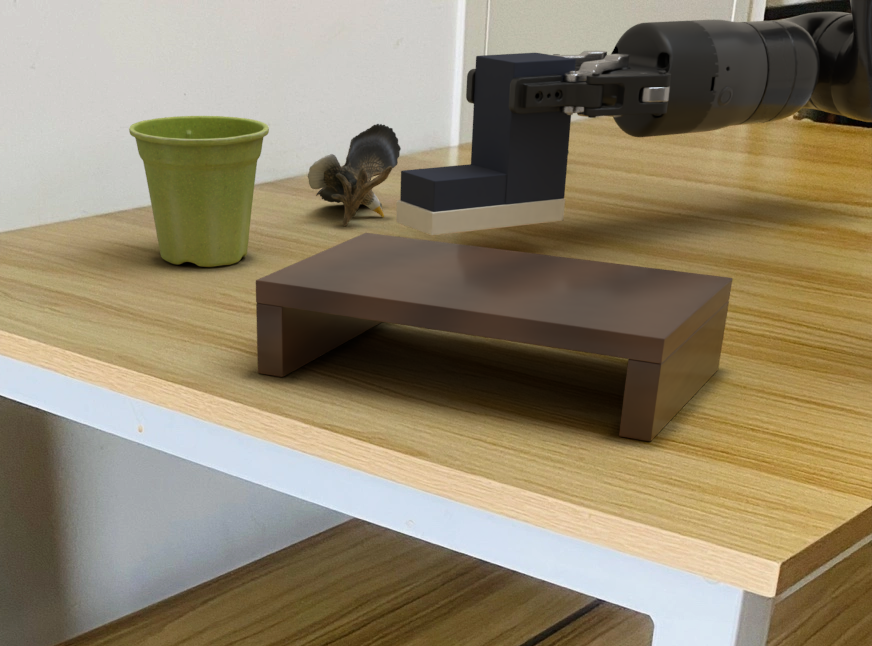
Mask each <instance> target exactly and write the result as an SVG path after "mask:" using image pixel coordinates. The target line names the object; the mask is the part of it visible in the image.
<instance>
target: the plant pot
mask: <svg viewBox="0 0 872 646" xmlns="http://www.w3.org/2000/svg"><path fill="white" fill-rule="evenodd" d="M128 131H129V135H130V136H131V137H133V138H134V139H135V144H136V147H137V152H138V155H139V157H140V159H141V161H142V162H143V167H144V173H145V177H146V183H147V188H148V194H149V200H150V204H151V209H152V213H153V214H152V216H153V221H154V228H155V233H156V238H157V243H158V248H159V253H160V257H161V259H162V260H163V261H166V262H168V263H170V264H173V265H182V264H184V263H192V264H195V265H196V266H198V267H204V268H214V267H217V266H218V267H219V266H230V265H234V264H236V263H238V262H240V261H241V259H242V258H243V257H247V255H248V248H249V240H250V239H249V238H250V229H251V221H252V219H251V218H252V211H253V201H254V194H255V193H254V192H255V185H256V184H255V183H256V174H257V166H258V160H259V158H260V157H261V154H262V151H263V143H264V138H265V137H266V136H267V135H268V134H269V132H270V127H269V125H268V124H267V123H265V122H263V121H261V120H256V119H253V118H252V119H251V118H246V117H238V116H224V115H180V116H179V115H178V116H168V117H167V116H165V117H158V118H157V117H156V118H151V119H145V120H141V121H137V122H134V123H133V124H130V126H129V128H128Z"/></svg>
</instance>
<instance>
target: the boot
mask: <svg viewBox="0 0 872 646" xmlns="http://www.w3.org/2000/svg"><path fill="white" fill-rule="evenodd" d="M575 63H576V59H574V58H567V57H561V56H554V55H553V54H548V53H541V52H519V53H504V54H486V55H485V54H484V55H476V56H475V68H474V69H475V90H474V104H473V111H472V112H473V113H472V130H471V132H472V133H471V135H472V136H471V152H470V154H471V155H470V164H459V165H447V166H435V167H426V168H416V169H414V168H413V169H405V170H400V193H399V194H400V198H399V199H398V200H396V202H395V223H396V224H400V225H402V226H404V227H407V228H410V229H413V230H416V231H417V232H420V233H423V234H427V235H429V236H431V237H432V236H441V235H450V234H457V233H468V232H476V231H486V230H494V229H502V228H511V227H520V226H528V225H529V226H530V225H536V224H537V225H538V224H546V223H555V222H563V221H564V217H565V207H566V206H565V205H566V198H565V195H566V183H567V182H566V181H567V169H568V160H569V159H568V157H569V154H568V151H569V146H570V135H571V133H570V132H571V121H572V115H565V113H561V112H560V110H561V106H560V109H559V111H552V112H539V113H527V114H517V113H513V112H511V111H510V109H509V93H510V83H511V81H512V79H513V78H515V77H525V76H541V75H556V74H557V75H562V81H563V73H567V72H569V71H575Z"/></svg>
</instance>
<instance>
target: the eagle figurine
mask: <svg viewBox="0 0 872 646" xmlns="http://www.w3.org/2000/svg"><path fill="white" fill-rule="evenodd" d="M401 150H402V148H401V146H400V144H399V138H398V137H397V134H396V132H395V131H394V130H393V128H392V127H389V126H388V125H385V124H382V123H376V124H373V125H372V126H370V127H369V128H367V129H365V130H363V131H361V132H360V133H358V135H355V136H354V137H352V138H351V139H350V144H349V147H348V151H347V155H346V158H345V163H344V165H342V166H341V164H340V161H339V160H338V158H337V156H336V154H333V153H330V154H327V155H325V156H322V157H321V158H319V159H317V160H316V161H314V162H313V164H312V165H311V166H309V169H308V173H307V179H308V185H309V187H310V188H311V189H312V190H318V191H317V192H316V194H315V196H316V197H317V196H319V197H321V200H323V201H326V202H329V203H337V204H340V203H342V204H343V206H344V214H343V219H342V224H343V226H344V227H347V226H348V224H349V222H350V221H351V220H352V218H353V217H355V216H356V211H359V207H360V206H361V205H364V206H366V207H367V208H368V209H370V211H372V212H374V213H376V214H378V215H379V216H381V218H385V214H384V211H383V204H382V203H381V201H380V200H379V198H378V196H377V195H376V194H375V192H374V191H373V189H374V188H375V187H377V186H379V185H381V184H382V183H384V182H385V181H386V180H387V179H388V178H389V175H390V174H391V172H392V170H393V169H394V168H396V166H398V162H399V161H398V159H399V157H400V152H401Z"/></svg>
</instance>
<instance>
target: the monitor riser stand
mask: <svg viewBox="0 0 872 646" xmlns="http://www.w3.org/2000/svg"><path fill="white" fill-rule="evenodd" d="M732 285H733V277H729V276H721V275H711V274H703V273H695V272H689V271H688V272H687V271H679V270H673V269H672V270H670V269H662V268H655V267H646V266H640V265H639V266H638V265H630V264H623V263H615V262H607V261H606V262H605V261H599V260H592V259H591V260H590V259H581V258H574V257H567V256H557V255H550V254H541V253H533V252H526V251H517V250H509V249H503V248H502V249H500V248H494V247H485V246H478V245H477V246H476V245H468V244H461V243H453V242H452V243H451V242H445V241H438V240H437V241H435V240H428V239H419V238H411V237H404V236H397V235H388V234H379V233H371V232H364V233H362V234H360V235H357V236H355V237H352V238H350V239H348V240H345V241H343V242H341V243H338V244H337V245H334V246H331V247H329V248H327V249H325V250H322V251H320V252H318V253H316V254H313V255H311V256H309V257H306V258H304V259H301V260H300V261H296V262H295V263H293V264H290V265H288V266H286V267H283V268H281V269H279V270H276V271H274V272H272V273H269V274H268V275H264V276H262V277H260V278H258V279H255V302H256V303H255V307H256V311H255V312H256V352H257V353H256V355H257V356H256V359H257V374H261V375H266V376H272V377H279V378H283V377H286V376H287V375H289V374H291V373H293V372H294V371H296V370H298V369H301V368H302V367H304V366H305V365H307V364H309V363H311V362H313V361H315V360H316V359H318V358H320V357H322V356H323V355H325V354H327V353H329V352H331V351H333V350H334V349H337V348H338V347H340V346H342V345H343V344H346V343H347V342H349V341H351V340H352V339H354V338H356V337H358V336H360V335H361V334H363V333H365V332H367V331H369V330H370V329H372V328H374V327H376V326H378V325H380V324H381V323H387V324H393V325H394V324H395V325H400V326H407V327H412V328H413V327H414V328H421V329H427V330H434V331H441V332H446V333H452V334H460V335H466V336H473V337H480V338H485V339H486V338H487V339H492V340H500V341H507V342H514V343H519V344H526V345H534V346H540V347H545V348H551V349H559V350H565V351H572V352H579V353H585V354H591V355H592V354H593V355H599V356H606V357H613V358H620V359H626V360H627V367H626V376H625V382H624V390H623V391H624V392H623V398H622V399H623V400H622V408H621V416H620V424H619V433H618V436H619V437H622V438H628V439H634V440H637V441H638V440H639V441H645V442H652V441H653V440H654V439H655V437H656V436H657V435H658V434H659V433H660V432H661V431H662V430H663V429H664V428H665V427H666V426H667V425H668V423H670V422H671V420H672V419H673V418H674V417H675V416H676V415H677V414H678V413H679V412H680V411H681V410H682V409H683V408H684V407H685V406H686V405H687V404H688V403H689V401H690V400H691V399H692V398H693V397H694V396H695V394H697V393H698V392H699V391H700V389H702V387H703V386H704V385H705V384H706V383H708V381H709V380H710V379H711V378H712V377H713V376H714V375H715V374H716V372H718V370H719V367H720V361H721V355H722V348H723V341H724V336H725V329H726V322H727V317H728V312H729V311H728V310H729V305H730V297H731V291H732Z"/></svg>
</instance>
